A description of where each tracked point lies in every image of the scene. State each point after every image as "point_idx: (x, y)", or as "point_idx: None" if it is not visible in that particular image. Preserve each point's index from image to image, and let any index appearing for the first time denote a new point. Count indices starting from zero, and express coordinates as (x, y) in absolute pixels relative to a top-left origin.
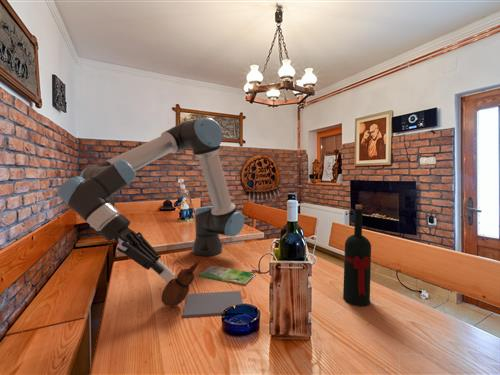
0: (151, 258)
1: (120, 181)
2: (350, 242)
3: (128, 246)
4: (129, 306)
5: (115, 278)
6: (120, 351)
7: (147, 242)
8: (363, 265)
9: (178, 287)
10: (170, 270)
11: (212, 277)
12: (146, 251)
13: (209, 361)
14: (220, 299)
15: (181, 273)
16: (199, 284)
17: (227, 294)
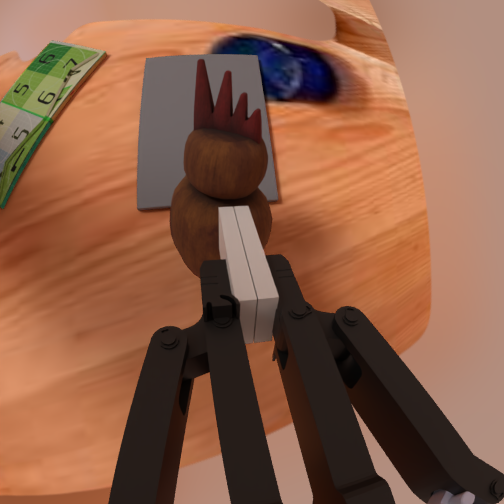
0: (322, 334)
1: None
2: None
3: (482, 463)
4: (210, 399)
5: (45, 491)
6: (396, 314)
7: (125, 481)
8: None
9: (263, 194)
10: (232, 225)
11: (30, 150)
12: (310, 404)
13: (401, 135)
14: (190, 101)
15: (258, 160)
16: (61, 188)
17: (162, 85)
